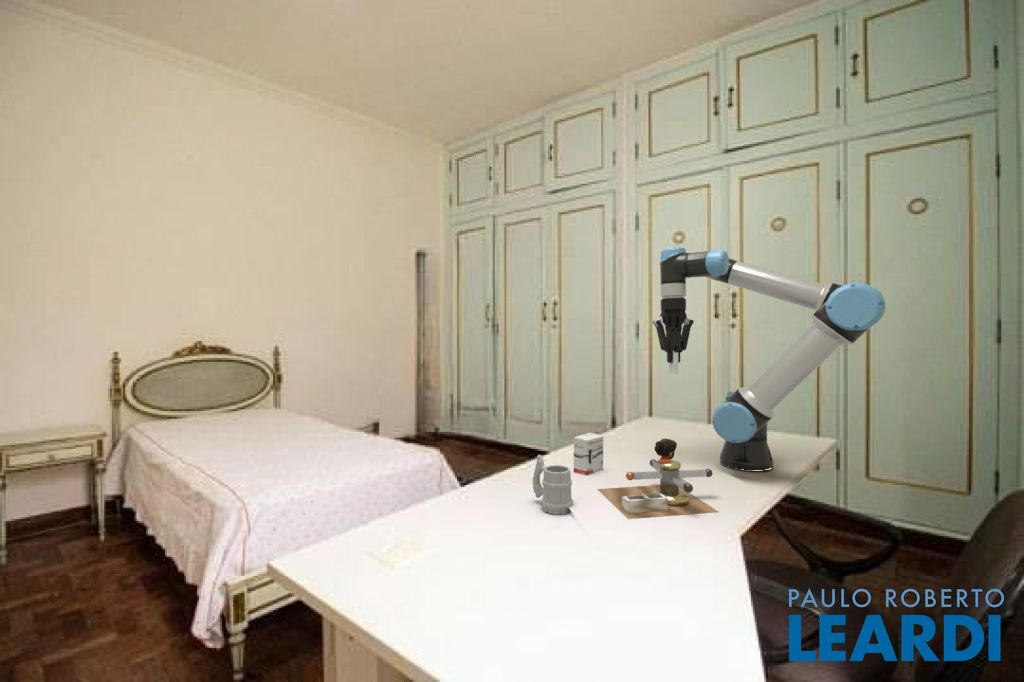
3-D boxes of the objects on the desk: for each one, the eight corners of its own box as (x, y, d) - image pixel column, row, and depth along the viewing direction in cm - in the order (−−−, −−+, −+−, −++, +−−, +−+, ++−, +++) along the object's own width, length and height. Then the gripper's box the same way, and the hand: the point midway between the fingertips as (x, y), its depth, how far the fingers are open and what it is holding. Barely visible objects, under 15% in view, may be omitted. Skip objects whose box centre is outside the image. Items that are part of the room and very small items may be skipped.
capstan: (612, 484, 129) (612, 450, 129) (691, 481, 131) (691, 447, 131) (642, 517, 107) (642, 475, 107) (736, 512, 110) (737, 472, 109)
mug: (558, 518, 112) (558, 466, 111) (522, 504, 120) (522, 456, 120) (579, 509, 117) (579, 460, 116) (544, 497, 126) (543, 451, 125)
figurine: (672, 486, 133) (672, 442, 133) (652, 482, 137) (652, 439, 136) (680, 480, 138) (680, 438, 138) (660, 476, 142) (660, 435, 141)
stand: (675, 489, 130) (675, 468, 130) (719, 518, 111) (719, 493, 111) (597, 494, 127) (597, 472, 127) (628, 525, 107) (628, 499, 107)
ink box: (586, 480, 138) (586, 439, 138) (573, 477, 142) (572, 436, 142) (604, 474, 144) (604, 434, 144) (590, 470, 148) (590, 432, 147)
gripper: (685, 298, 156) (685, 371, 157) (648, 298, 154) (648, 373, 154) (698, 297, 149) (699, 373, 150) (660, 297, 146) (661, 375, 147)
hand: (673, 373), depth 152 cm, fingers closed
